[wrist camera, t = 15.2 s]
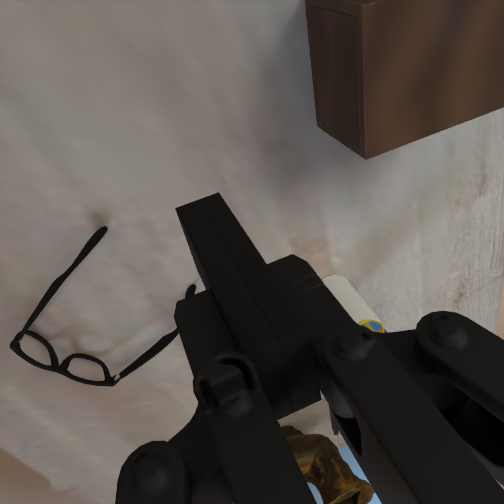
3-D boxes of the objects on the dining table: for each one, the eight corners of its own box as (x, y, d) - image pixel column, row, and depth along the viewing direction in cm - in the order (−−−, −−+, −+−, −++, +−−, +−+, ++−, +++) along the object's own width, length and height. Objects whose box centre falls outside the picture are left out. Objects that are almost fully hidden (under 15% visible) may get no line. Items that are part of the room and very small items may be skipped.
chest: (444, -49, 45) (519, -46, 38) (434, 84, 54) (493, 106, 47) (303, -7, 43) (355, 4, 36) (316, 126, 51) (360, 156, 44)
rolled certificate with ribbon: (301, 283, 65) (406, 425, 46) (351, 266, 67) (472, 395, 48) (302, 321, 70) (398, 464, 51) (349, 304, 72) (458, 435, 53)
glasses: (-5, 320, 51) (-10, 352, 47) (98, 218, 48) (101, 244, 44) (109, 367, 62) (112, 396, 58) (200, 286, 58) (209, 312, 55)
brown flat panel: (526, -48, 38) (534, -48, 38) (500, 104, 47) (505, 106, 47) (356, 4, 36) (361, 6, 35) (361, 157, 44) (365, 160, 44)
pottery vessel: (318, 396, 84) (378, 496, 69) (333, 419, 91) (390, 514, 76) (207, 466, 84) (243, 583, 68) (231, 484, 91) (268, 593, 76)
